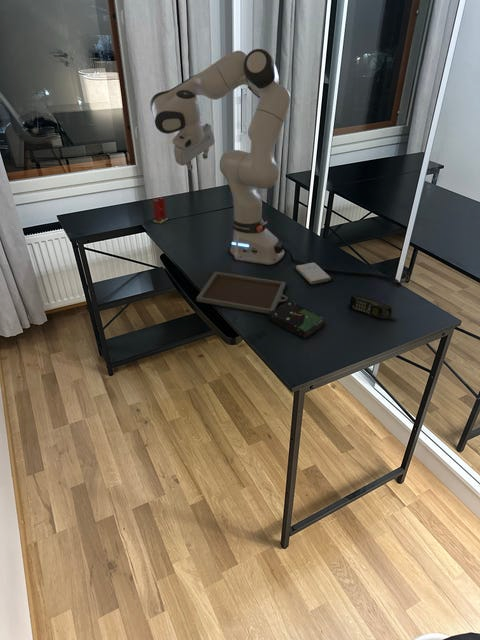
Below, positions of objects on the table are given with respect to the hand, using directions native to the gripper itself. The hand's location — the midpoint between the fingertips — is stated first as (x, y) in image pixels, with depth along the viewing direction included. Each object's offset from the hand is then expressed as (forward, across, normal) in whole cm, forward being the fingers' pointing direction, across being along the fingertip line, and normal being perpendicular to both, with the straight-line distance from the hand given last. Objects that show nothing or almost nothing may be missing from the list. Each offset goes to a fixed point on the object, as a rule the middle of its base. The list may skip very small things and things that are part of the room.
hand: (197, 163), depth 184 cm
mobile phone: (+10, +18, +97) cm, 99 cm away
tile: (+26, +17, -14) cm, 35 cm away
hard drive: (+16, +11, +68) cm, 71 cm away
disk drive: (+6, +38, +80) cm, 89 cm away
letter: (+26, +17, -14) cm, 34 cm away
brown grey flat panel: (+10, +37, +58) cm, 69 cm away
